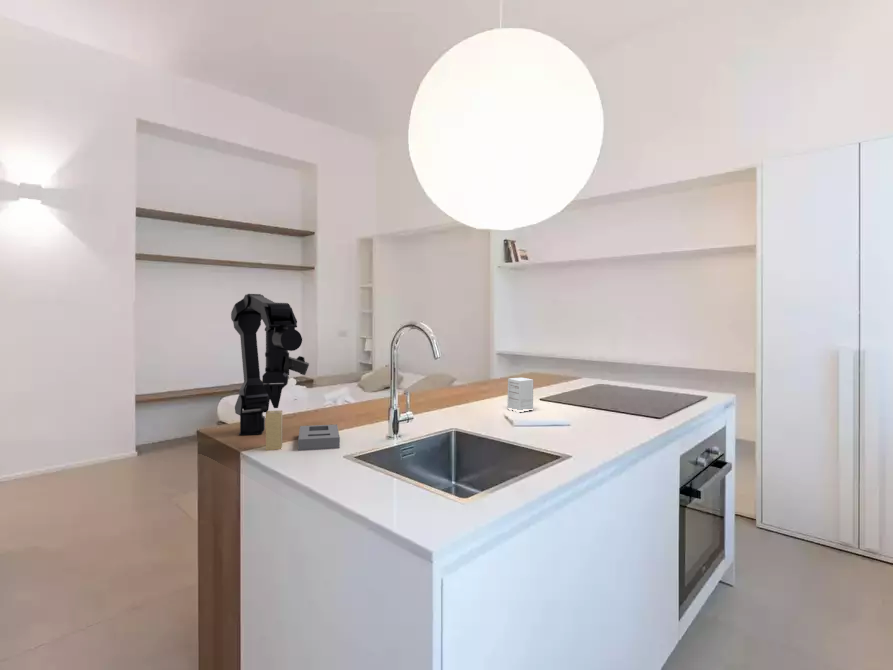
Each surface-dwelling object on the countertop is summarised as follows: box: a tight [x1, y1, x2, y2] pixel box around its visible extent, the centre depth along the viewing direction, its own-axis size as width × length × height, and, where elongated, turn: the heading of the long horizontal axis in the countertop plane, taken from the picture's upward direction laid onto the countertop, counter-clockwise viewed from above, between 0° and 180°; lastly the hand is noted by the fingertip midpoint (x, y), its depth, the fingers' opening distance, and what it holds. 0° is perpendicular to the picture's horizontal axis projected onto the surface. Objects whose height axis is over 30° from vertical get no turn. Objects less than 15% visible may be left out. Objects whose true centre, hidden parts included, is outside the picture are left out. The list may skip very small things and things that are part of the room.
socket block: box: [297, 424, 341, 451], centre depth 141 cm, size 11×16×3 cm
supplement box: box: [507, 377, 534, 410], centre depth 191 cm, size 7×7×13 cm
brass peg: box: [265, 409, 283, 451], centre depth 134 cm, size 4×4×10 cm
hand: (276, 404), depth 134 cm, fingers open, 9 cm apart
